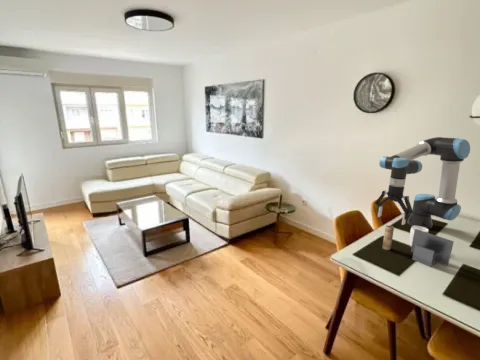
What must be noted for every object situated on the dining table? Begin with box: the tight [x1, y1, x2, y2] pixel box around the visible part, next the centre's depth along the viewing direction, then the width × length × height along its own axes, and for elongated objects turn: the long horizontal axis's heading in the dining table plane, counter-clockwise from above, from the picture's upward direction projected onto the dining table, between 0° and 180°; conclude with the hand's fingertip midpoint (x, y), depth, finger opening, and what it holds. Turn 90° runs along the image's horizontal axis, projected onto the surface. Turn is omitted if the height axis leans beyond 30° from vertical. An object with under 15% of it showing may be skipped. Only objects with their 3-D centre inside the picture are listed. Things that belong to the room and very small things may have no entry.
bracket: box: [410, 229, 455, 268], centre depth 143 cm, size 10×18×14 cm, turn 34°
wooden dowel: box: [381, 225, 395, 251], centre depth 156 cm, size 4×4×14 cm
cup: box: [409, 226, 430, 248], centre depth 158 cm, size 9×9×12 cm
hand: (390, 220), depth 153 cm, fingers open, 13 cm apart
